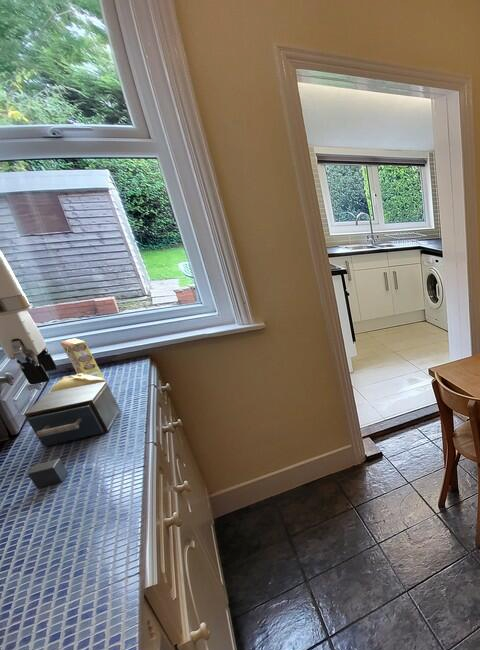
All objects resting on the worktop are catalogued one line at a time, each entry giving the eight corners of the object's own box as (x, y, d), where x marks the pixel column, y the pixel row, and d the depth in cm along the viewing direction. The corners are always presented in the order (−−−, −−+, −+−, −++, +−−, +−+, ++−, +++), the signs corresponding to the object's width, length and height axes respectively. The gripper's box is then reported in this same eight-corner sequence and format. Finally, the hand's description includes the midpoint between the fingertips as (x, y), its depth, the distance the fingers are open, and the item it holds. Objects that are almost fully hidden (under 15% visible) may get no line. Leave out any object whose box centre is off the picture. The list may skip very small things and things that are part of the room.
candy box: (107, 382, 142) (86, 340, 136) (91, 387, 139) (69, 344, 133) (96, 378, 146) (75, 337, 140) (81, 383, 143) (58, 341, 137)
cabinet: (108, 431, 110) (91, 400, 106) (44, 446, 104) (23, 414, 100) (120, 410, 122) (106, 381, 118) (63, 423, 116) (45, 393, 112)
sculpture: (123, 400, 128) (107, 368, 124) (80, 419, 118) (62, 385, 113) (94, 398, 130) (77, 367, 126) (49, 417, 120) (29, 383, 115)
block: (37, 489, 88) (27, 473, 87) (44, 479, 91) (34, 464, 90) (62, 482, 90) (53, 467, 88) (68, 473, 93) (59, 458, 92)
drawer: (97, 440, 104) (82, 413, 101) (35, 455, 99) (17, 427, 96) (114, 412, 119) (102, 388, 115) (61, 424, 114) (46, 399, 110)
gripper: (-10, 302, 94) (30, 370, 102) (-35, 316, 82) (12, 392, 89) (36, 296, 98) (72, 362, 106) (19, 308, 86) (60, 382, 93)
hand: (44, 376), depth 97 cm, fingers open, 9 cm apart
